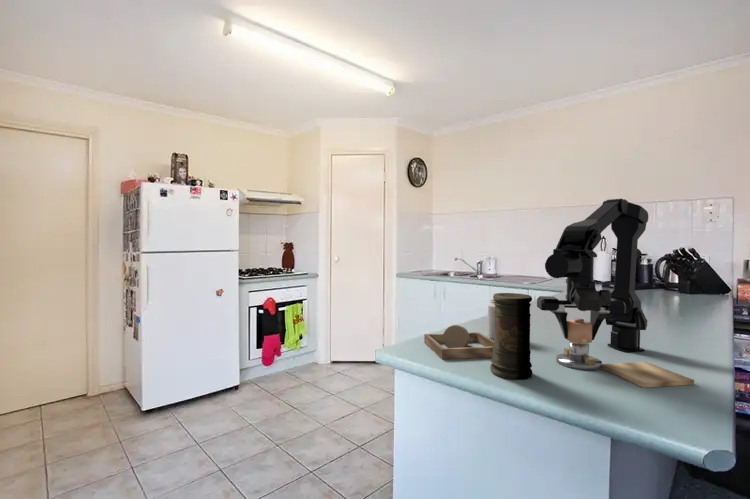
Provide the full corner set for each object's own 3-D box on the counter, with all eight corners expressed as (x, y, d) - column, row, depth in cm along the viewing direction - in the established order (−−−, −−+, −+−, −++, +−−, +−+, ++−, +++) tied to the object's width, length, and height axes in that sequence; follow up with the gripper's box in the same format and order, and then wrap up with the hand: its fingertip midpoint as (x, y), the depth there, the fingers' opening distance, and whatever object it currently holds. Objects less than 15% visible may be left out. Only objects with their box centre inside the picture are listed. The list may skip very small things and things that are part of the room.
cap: (585, 336, 98) (585, 316, 98) (597, 345, 90) (598, 323, 90) (561, 335, 99) (562, 315, 99) (571, 344, 91) (572, 322, 91)
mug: (475, 345, 112) (478, 319, 106) (461, 367, 105) (464, 341, 100) (451, 335, 115) (453, 310, 110) (437, 356, 109) (438, 330, 103)
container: (486, 366, 92) (487, 292, 92) (523, 366, 92) (524, 292, 91) (496, 380, 83) (497, 297, 83) (538, 380, 83) (539, 298, 82)
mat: (645, 365, 93) (645, 361, 93) (694, 384, 81) (694, 379, 81) (601, 368, 91) (601, 364, 91) (643, 387, 79) (644, 382, 79)
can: (509, 336, 121) (510, 298, 121) (516, 342, 114) (516, 302, 114) (485, 335, 122) (485, 298, 122) (490, 341, 115) (490, 301, 114)
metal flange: (582, 356, 100) (583, 337, 100) (612, 369, 90) (612, 348, 90) (547, 358, 99) (548, 338, 98) (573, 371, 89) (573, 350, 89)
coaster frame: (478, 340, 116) (478, 332, 116) (504, 356, 100) (504, 346, 100) (424, 342, 113) (424, 334, 113) (441, 359, 97) (441, 349, 97)
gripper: (547, 278, 88) (546, 346, 88) (638, 280, 84) (636, 350, 85) (536, 274, 99) (536, 334, 99) (616, 275, 95) (615, 338, 95)
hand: (578, 339), depth 94 cm, fingers closed on cap, 6 cm apart
